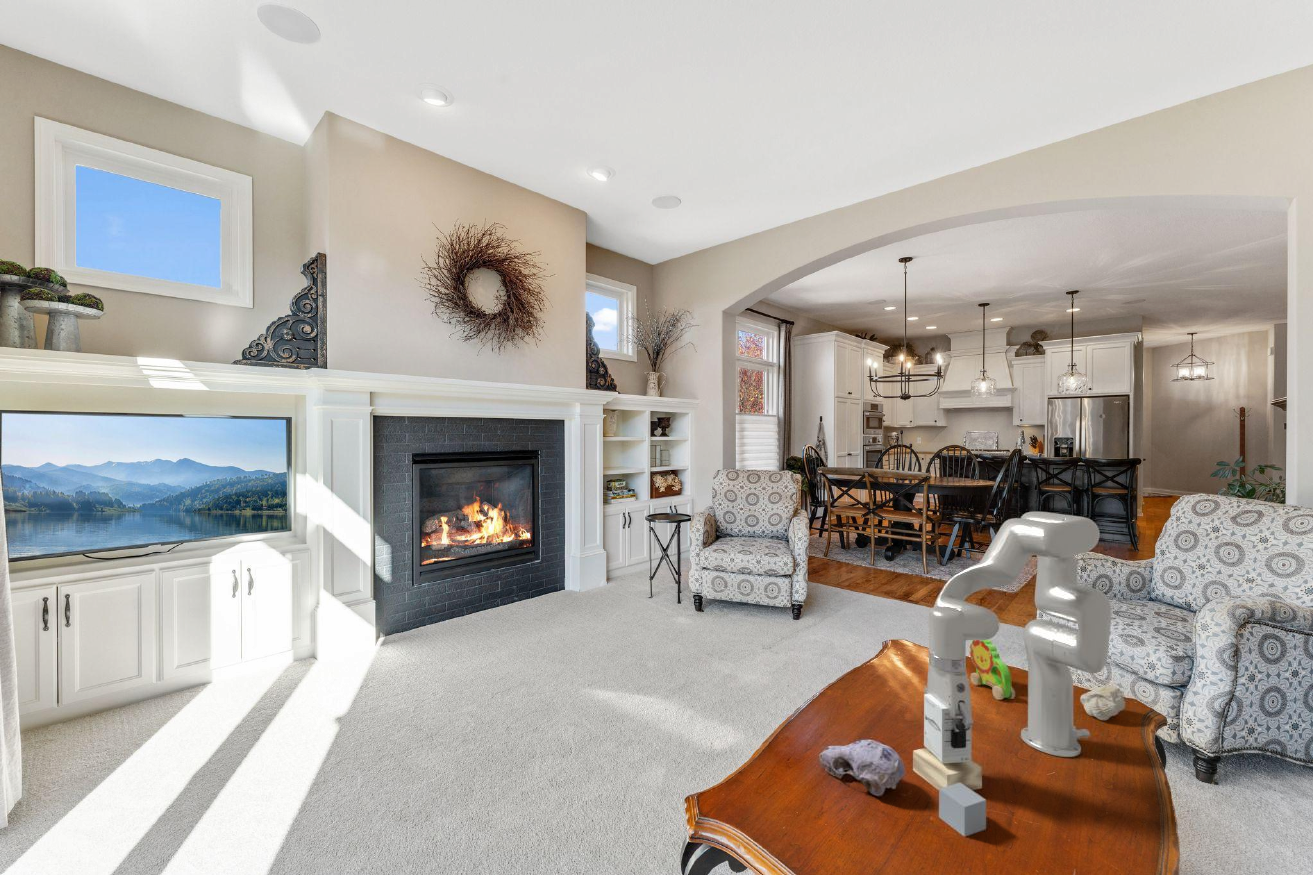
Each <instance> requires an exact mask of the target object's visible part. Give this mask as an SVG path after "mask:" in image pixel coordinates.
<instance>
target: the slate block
mask: <svg viewBox="0 0 1313 875" xmlns="http://www.w3.org/2000/svg"><path fill="white" fill-rule="evenodd" d="M938 802H939V803H938V817H939V819H941V820H942V821H943V822H945V823H946V824H947V825H949V826H950V827H951V828H953V829H954V830H955V831H956V832H957V833H959V834H960V835H962V836H963V837H965V838H966V837H967V836H971V835H973V834H976V833H979V832H983V831H985V830H986V829H987V799H985V797H983V796H981V795H980V794H979V793H977V792H975V790H971V789H969V788H968V787H966V786H965V785H963V784H962V783H957V784H953V785H950V786H947V787H944V788H940V789H939V790H938Z"/></svg>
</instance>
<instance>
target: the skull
mask: <svg viewBox="0 0 1313 875" xmlns="http://www.w3.org/2000/svg"><path fill="white" fill-rule="evenodd" d="M818 759H819V760H820V768H821V770H822V769H823V767H824V770H825V772H827V773H828V774H830V775H832V776H833V777H837V778H839V779H842V777H844V775H846V774H849V775H851V776H852V777H854V778H855V780H858V781H860V783H861V784H863V786H864V787H865V789H867V790H868V791H869V793H870V794H872V795H874V796H875V797H876V796H877V797H881V796H883V794H884V793H885V790H886V789H890V788H891V789H892V790H896V788H897V786H898V785H899V782H900V781H901V780H903V779H904V778H905V776H906V769H905V764H904V762H903V760H902V758H901V756H900V755H899V754H898V753H897V752H896V751H895V750H894V749H893V748H892V747H891V746H889V745H887V744H883V743H881V742H879V741H876V740H873V739H860V740H856V741H854V742H852V743H848V744H846V745H828V746H827V747H825V749H823V751H822V752H821V753H819V757H818Z"/></svg>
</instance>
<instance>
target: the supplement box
mask: <svg viewBox="0 0 1313 875" xmlns="http://www.w3.org/2000/svg"><path fill="white" fill-rule="evenodd" d="M923 696H924V697H923V705H924V706H923V712H924V713H923V718H924V719H923V746H924V748H928V749H929V750H930V751H931V752H932V753H933V754H934V755H935V756H936V757H937V758H938V759H939V760H940V761H941V762H942V763H959V762H971V760H972V725H971V726H970V728H969V729H968V731H966V747H965V748H955V749H954V748H953V747H952V746H951V730H954V729H953V726H952V718H951V717H949V710H948V708H947V707H946V706H944V705H943V704H942V703H941V702H939V701H938V700H937V699H936V698H934V697H933V696H932V695H931V694H926V693H924V695H923ZM960 715H961V713H960V711H959V709H958V711H957V714H955V716H960ZM956 722H957V725H958V724H959V723H961V719H956Z"/></svg>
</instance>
